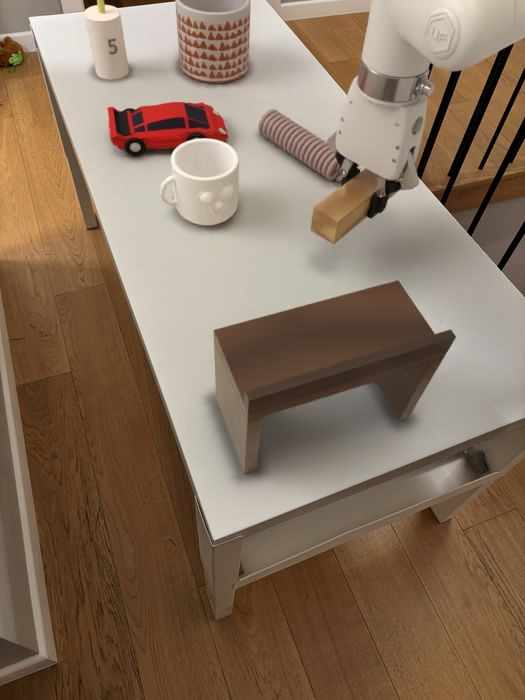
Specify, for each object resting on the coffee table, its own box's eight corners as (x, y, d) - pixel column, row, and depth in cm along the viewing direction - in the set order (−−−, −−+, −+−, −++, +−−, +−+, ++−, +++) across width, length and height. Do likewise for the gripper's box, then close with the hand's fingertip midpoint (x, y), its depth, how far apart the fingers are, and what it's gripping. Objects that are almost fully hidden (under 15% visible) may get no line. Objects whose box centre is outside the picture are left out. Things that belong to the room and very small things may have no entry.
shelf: (408, 417, 64) (456, 336, 51) (244, 474, 59) (248, 400, 46) (370, 352, 70) (404, 263, 56) (215, 399, 65) (212, 313, 51)
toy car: (232, 147, 93) (233, 120, 89) (115, 163, 89) (110, 136, 85) (217, 113, 99) (217, 86, 94) (106, 126, 94) (101, 99, 90)
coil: (355, 153, 86) (277, 104, 93) (336, 162, 84) (258, 110, 91) (347, 178, 90) (273, 129, 97) (329, 187, 88) (254, 136, 95)
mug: (175, 243, 79) (170, 193, 72) (152, 200, 84) (145, 149, 77) (249, 222, 82) (252, 173, 75) (223, 182, 87) (223, 132, 80)
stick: (407, 184, 80) (414, 160, 76) (333, 244, 71) (338, 221, 68) (385, 172, 81) (391, 148, 78) (310, 230, 73) (313, 207, 70)
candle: (102, 83, 102) (85, -5, 90) (91, 66, 105) (73, -21, 93) (134, 76, 104) (121, -11, 92) (121, 60, 107) (108, -26, 95)
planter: (198, 91, 102) (195, 19, 92) (168, 57, 109) (162, -14, 98) (260, 75, 107) (264, 5, 96) (228, 43, 113) (228, -26, 103)
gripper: (472, 93, 60) (425, 220, 75) (351, 40, 66) (330, 168, 81) (437, 120, 56) (395, 248, 71) (313, 61, 63) (298, 190, 78)
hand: (361, 204), depth 76 cm, fingers closed on stick, 4 cm apart
